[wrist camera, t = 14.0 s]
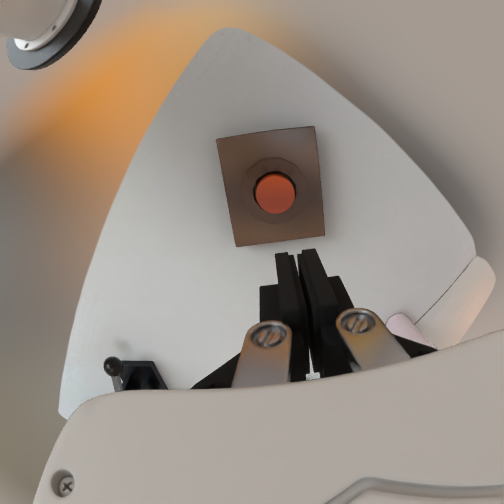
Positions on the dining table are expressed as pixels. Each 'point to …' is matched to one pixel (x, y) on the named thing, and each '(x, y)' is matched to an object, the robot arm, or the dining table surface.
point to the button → (275, 193)
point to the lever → (114, 371)
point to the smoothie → (406, 329)
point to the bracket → (141, 376)
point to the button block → (264, 163)
